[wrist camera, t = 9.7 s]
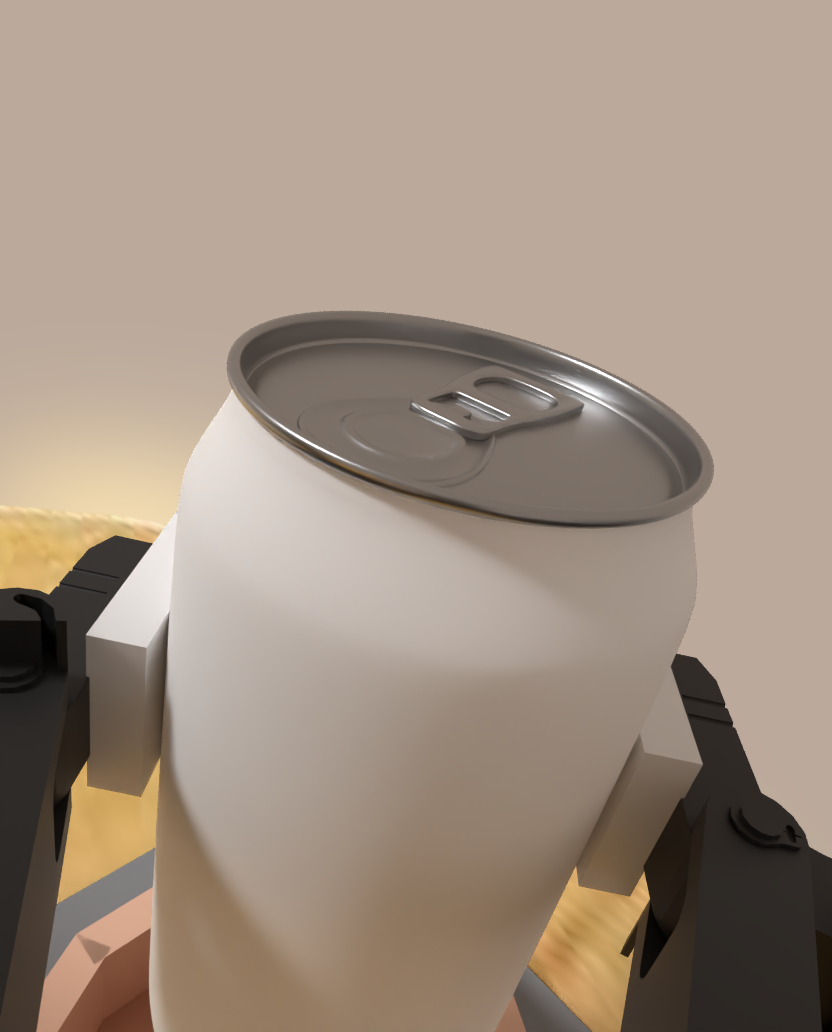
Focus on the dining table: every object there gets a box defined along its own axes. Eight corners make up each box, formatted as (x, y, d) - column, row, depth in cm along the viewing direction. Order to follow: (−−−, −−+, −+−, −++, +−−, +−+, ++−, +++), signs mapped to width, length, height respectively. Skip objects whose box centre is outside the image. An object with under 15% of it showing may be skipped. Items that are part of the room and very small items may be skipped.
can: (70, 976, 14) (52, 325, 8) (318, 778, 19) (420, 286, 13) (335, 1299, 11) (614, 650, 5) (546, 965, 16) (811, 439, 10)
